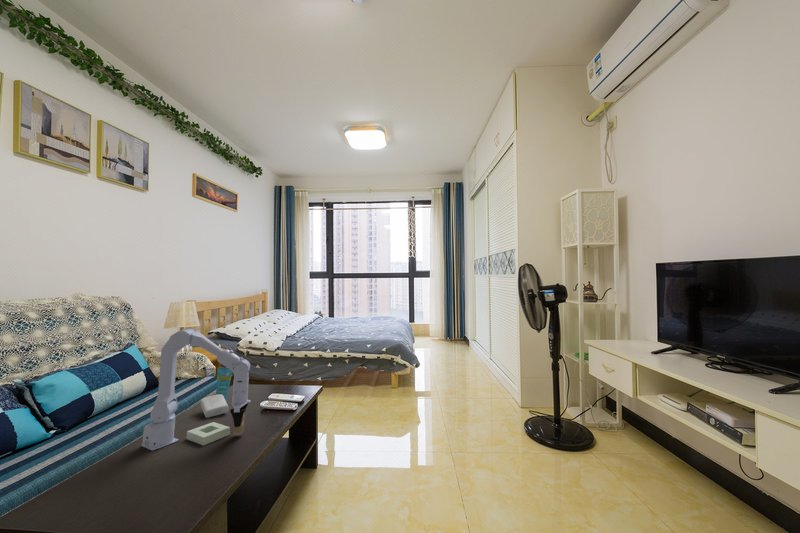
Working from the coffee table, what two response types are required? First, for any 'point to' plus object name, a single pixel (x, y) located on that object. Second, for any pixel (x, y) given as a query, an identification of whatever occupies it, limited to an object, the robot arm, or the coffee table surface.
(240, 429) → the peg
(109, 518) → the coffee table surface
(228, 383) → the tube
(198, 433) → the socket
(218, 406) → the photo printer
